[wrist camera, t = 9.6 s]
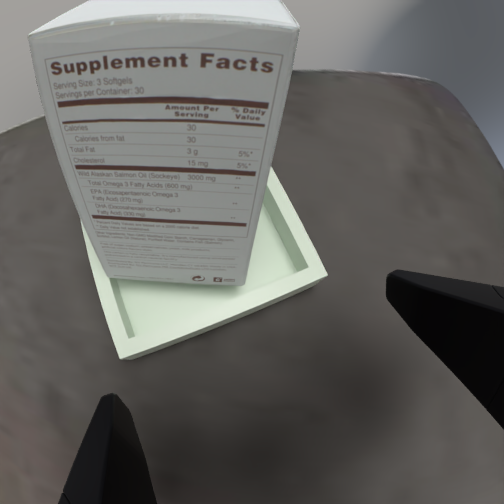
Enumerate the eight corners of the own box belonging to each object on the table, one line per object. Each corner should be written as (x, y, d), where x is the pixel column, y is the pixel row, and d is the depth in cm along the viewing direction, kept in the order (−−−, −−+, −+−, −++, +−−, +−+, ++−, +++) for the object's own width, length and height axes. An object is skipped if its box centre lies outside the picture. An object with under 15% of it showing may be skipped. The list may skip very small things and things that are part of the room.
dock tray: (313, 285, 19) (327, 275, 17) (132, 359, 16) (120, 359, 14) (239, 139, 22) (242, 116, 20) (84, 192, 19) (72, 172, 17)
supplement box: (132, 182, 19) (113, -14, 9) (246, 188, 20) (280, -13, 10) (103, 282, 15) (18, 33, 5) (246, 292, 16) (310, 21, 6)
